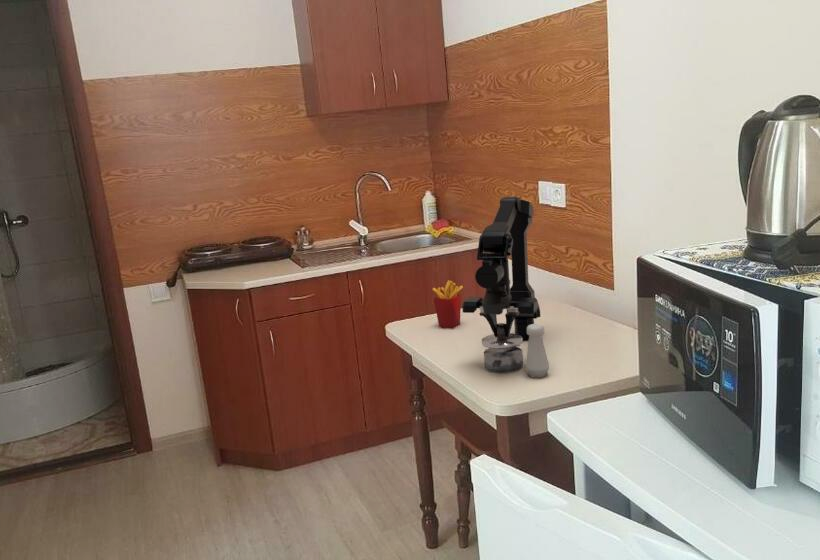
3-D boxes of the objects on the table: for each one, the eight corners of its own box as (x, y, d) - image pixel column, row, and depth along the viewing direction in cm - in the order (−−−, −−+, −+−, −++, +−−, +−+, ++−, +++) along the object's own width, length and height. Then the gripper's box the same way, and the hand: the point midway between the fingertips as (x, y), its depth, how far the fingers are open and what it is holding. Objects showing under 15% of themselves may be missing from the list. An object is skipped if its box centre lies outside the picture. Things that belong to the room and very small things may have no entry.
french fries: (435, 328, 227) (431, 282, 224) (448, 321, 234) (444, 276, 231) (459, 330, 223) (455, 283, 219) (472, 323, 229) (468, 277, 226)
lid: (488, 335, 194) (486, 318, 193) (526, 336, 190) (525, 319, 189) (476, 348, 184) (475, 330, 183) (517, 349, 180) (516, 331, 179)
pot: (492, 355, 197) (492, 341, 196) (529, 357, 193) (528, 342, 192) (477, 375, 183) (476, 360, 182) (515, 377, 180) (514, 362, 179)
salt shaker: (549, 378, 177) (546, 328, 174) (525, 379, 178) (522, 329, 175) (549, 370, 182) (547, 321, 179) (526, 370, 183) (523, 322, 181)
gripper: (453, 286, 179) (458, 345, 183) (527, 286, 172) (530, 348, 176) (466, 275, 190) (470, 332, 193) (536, 275, 182) (540, 334, 186)
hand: (501, 337), depth 187 cm, fingers closed on lid, 3 cm apart
